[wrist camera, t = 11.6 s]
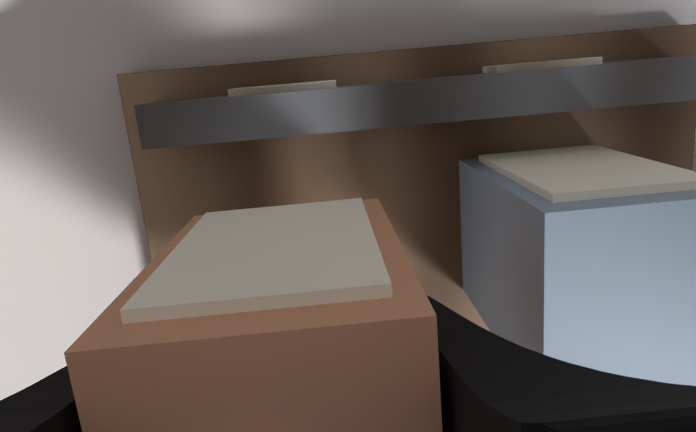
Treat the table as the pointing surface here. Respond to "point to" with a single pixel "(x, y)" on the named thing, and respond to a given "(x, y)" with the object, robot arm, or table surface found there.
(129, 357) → the peach carton
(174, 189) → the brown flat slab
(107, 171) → the table surface
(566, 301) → the slate carton
